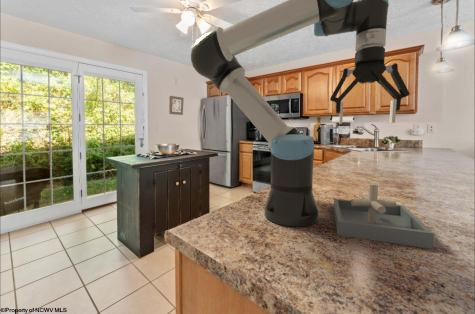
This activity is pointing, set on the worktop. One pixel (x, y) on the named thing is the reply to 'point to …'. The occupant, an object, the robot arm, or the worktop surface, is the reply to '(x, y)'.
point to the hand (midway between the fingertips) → (365, 123)
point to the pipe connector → (373, 203)
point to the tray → (381, 225)
